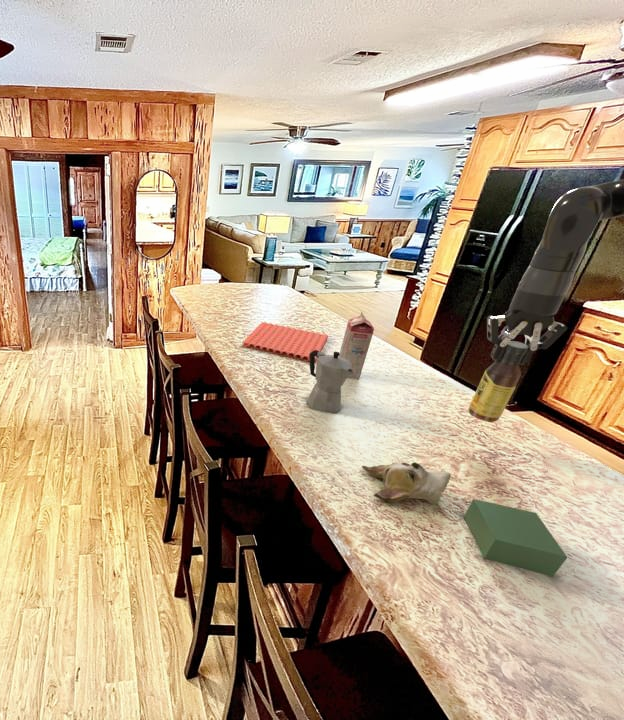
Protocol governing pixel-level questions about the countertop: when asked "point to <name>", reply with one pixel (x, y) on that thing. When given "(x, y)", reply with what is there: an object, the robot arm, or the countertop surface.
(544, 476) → the countertop surface
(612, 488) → the countertop surface
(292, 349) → the red corrugated roof tile
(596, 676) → the countertop surface
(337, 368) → the coffeepot
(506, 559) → the green block
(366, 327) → the juice carton
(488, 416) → the sauce bottle
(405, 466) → the ceramic sculpture
